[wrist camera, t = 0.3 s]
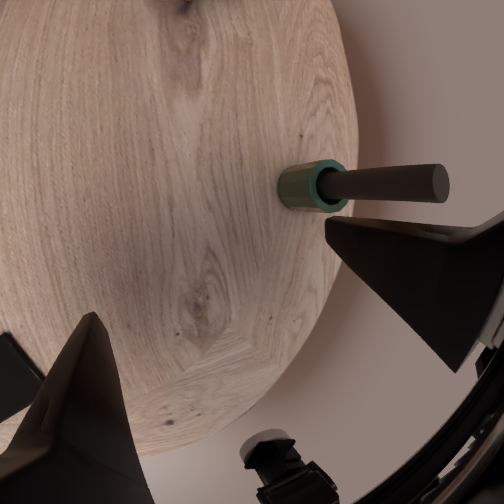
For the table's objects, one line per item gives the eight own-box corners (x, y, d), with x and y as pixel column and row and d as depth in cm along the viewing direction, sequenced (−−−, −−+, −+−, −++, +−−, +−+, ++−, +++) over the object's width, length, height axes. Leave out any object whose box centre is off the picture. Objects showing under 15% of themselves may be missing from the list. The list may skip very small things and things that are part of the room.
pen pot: (307, 217, 25) (342, 220, 20) (271, 200, 23) (302, 199, 19) (320, 178, 25) (356, 174, 20) (286, 158, 23) (319, 150, 19)
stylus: (304, 202, 24) (446, 209, 11) (286, 193, 23) (430, 192, 11) (311, 182, 24) (451, 176, 11) (293, 173, 23) (436, 156, 11)
